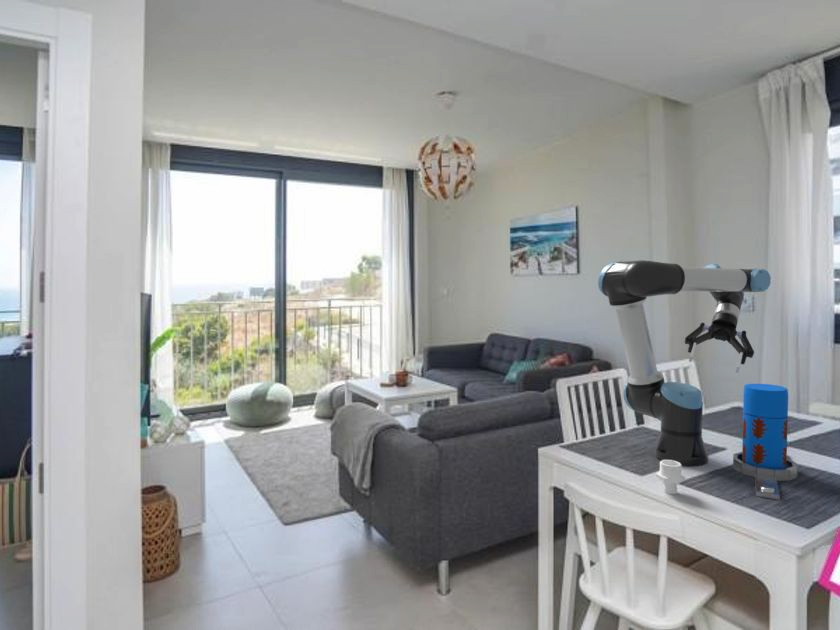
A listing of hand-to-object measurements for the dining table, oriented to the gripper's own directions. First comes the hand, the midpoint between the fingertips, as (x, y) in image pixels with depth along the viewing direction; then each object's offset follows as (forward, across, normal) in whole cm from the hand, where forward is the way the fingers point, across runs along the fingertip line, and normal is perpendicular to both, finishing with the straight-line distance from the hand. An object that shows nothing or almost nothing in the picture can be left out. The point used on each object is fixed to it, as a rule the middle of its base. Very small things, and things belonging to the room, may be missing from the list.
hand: (713, 364), depth 165 cm
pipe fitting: (+52, +2, +6) cm, 52 cm away
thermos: (+26, -19, -11) cm, 34 cm away
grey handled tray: (+27, -19, -10) cm, 35 cm away
